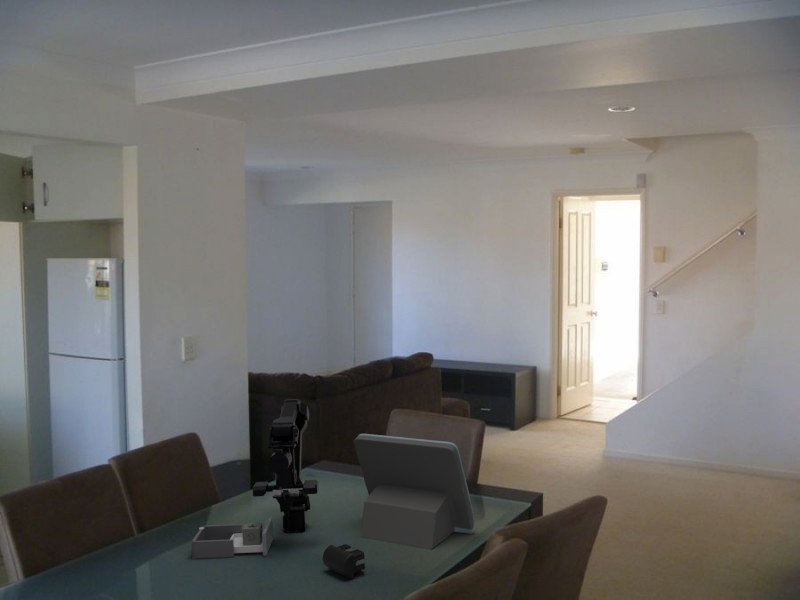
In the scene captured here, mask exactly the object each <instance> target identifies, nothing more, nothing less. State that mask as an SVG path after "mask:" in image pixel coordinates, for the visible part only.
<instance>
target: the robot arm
mask: <svg viewBox="0 0 800 600" xmlns="http://www.w3.org/2000/svg"><path fill="white" fill-rule="evenodd" d="M309 420H310V409H309V407H308V405H307V404H305V403H302V402H301V400H300V399H298V398H293V399H291V398H290V399H284V400H283V404H282V405H281V409H280V416H279V418H276V419H274V420H273V422H272V423H271V425H270V426H269V430H268V431H269V433H268V448H267V449H273V453H272V454H271V457H269V460H268V468H269V469H270V471H271V472H272V478H273V479H274V480H275V484H269V481H256V482H255V483H254V485H253V487H252V496H253V497H254V498H255V497H264V496H265V495H266V494H267V492H268V493H271V492H272V499H275V500H276V501H277V503H278V504H279V510H280V513H283V515H282V528H283V532H284V533H305V532H306V530H307V528H308V527H307V526H308V523H307V518H306V517H307V515H306V513H307V512H308V511H310V510H311V500H310V496H309V495H317V494H318V492H319V481H318V480H317V479H305V480H304V483H303V481H302V479H301V478H302V452H303V451H302V450H303V449H302V448H303V447H302V446H303V445H302V443H303V434H304V432H305V430H306V429H307V427H308V421H309Z"/></svg>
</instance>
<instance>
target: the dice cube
mask: <svg viewBox="0 0 800 600" xmlns="http://www.w3.org/2000/svg"><path fill="white" fill-rule="evenodd" d="M262 533H263V522H251V523H250V522H248V523H244V525H243V526H242V536H243V546H252V545H261V542H262Z"/></svg>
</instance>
